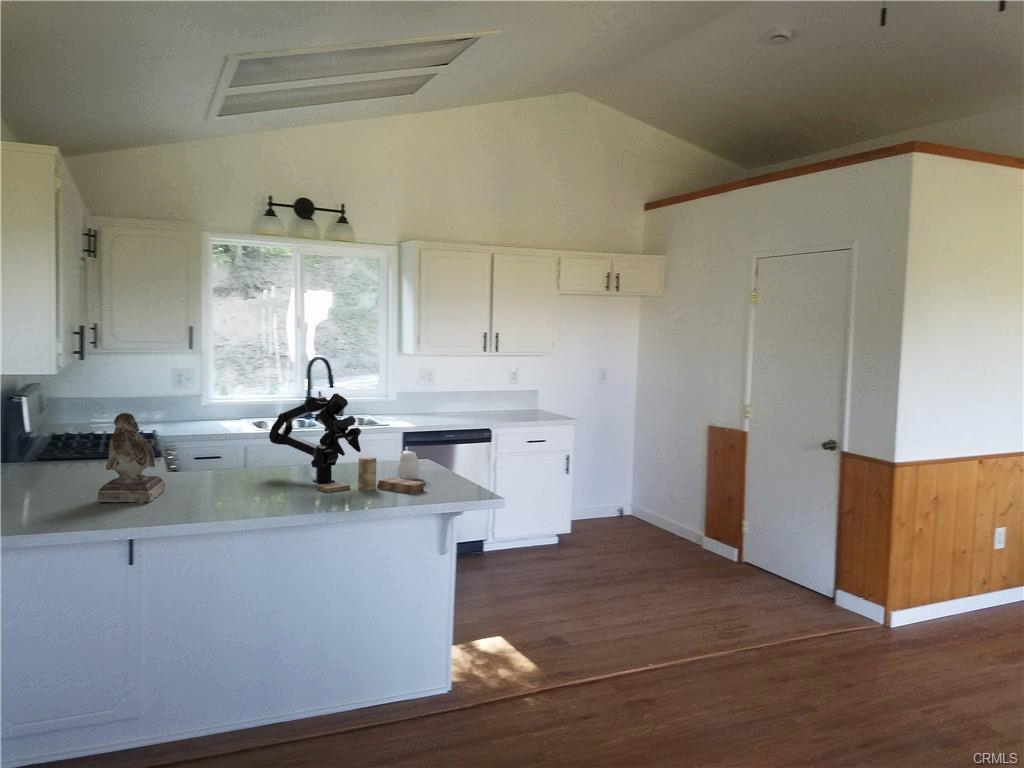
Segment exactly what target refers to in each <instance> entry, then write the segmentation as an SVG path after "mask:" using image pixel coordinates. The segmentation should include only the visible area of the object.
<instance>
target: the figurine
mask: <svg viewBox="0 0 1024 768" xmlns="http://www.w3.org/2000/svg"><path fill="white" fill-rule="evenodd" d="M421 466H422V462H420V461H419V460H418V456H417V453H416V451H412V450H411V451H410V450H403V451H402V450H401V451H400V456H399V459H398V463H397V465H396V476H397V477H398V479H405V480H411V481H415V480H416V479H418V478H419V477H420V476H421V474H422V470H421V469H420V467H421Z"/></svg>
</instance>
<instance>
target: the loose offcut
mask: <svg viewBox="0 0 1024 768" xmlns="http://www.w3.org/2000/svg"><path fill="white" fill-rule="evenodd" d="M316 488H318V489H321V490H323V491H322V492H324V491H326V492H328V493H330V492H329V491H334V492H338V491H337V490H341V491H346V490H345V489H347V490H350V489H351V484H348V483H345V482H341V481H336V482H328V483H321V484H317V485H316ZM318 489H317V490H318ZM321 490H320V491H321ZM326 492H325V493H326Z"/></svg>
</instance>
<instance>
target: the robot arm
mask: <svg viewBox="0 0 1024 768" xmlns="http://www.w3.org/2000/svg"><path fill="white" fill-rule="evenodd" d="M348 404H349V402H348V400H347V399H346V398H345V397H343V396H342V395H340V393H338V392H337V393H334V394H332V396H331V398H329V399H327V398H326V397H325V395H322V396H312V397H310V398H307V400H306V401H304V403H303V404H301V405H299V406H296V407H295V408H291V409H289V410H286V411H284V412H281V413H280V414H278V416H277V419H276V421H275V422H274V423H273V425H272V426H271V429H270V431H269V435H268V439H269V442H270V443H272V444H275V445H282V446H283V445H284V446H289V447H291V448H294V449H296V450H298V451H301V452H303V453H305V454H308V455H310V456H311V457H313V459H312V460H311V462H310V464H311V467H312V468H315V470H316V471H315V474H316V475H315V477H316V478H315V479H312V482H314V481H316V482H315V483H317V482H319V483H318V484H327V483H326V482H328V483H336V482H335V479H333V478H332V473H333V472H332V467H333V466H336V464H337V461H338V459H339V455H341V456H343V457H344V456H345V455H346V453H345V450H344V449H343V448H342V446H341V444H340V442H339V440H341V439H344V440H345V441H346V443H347V444H348V445H349V446H351V448H353V450H355V451H356V452H357V453H361V451H362V450H361V446H360V442H359V441H360V440H359V437H360V435H361V433H362V430H361V429H360V427H353V426H355V424H356V422H357V420H356V418H355V417H354V415H349V416H347V417H344V418H343V419H339V418H337V416H339V415H340V414H341V413H342V412H343V411H344V410H345V408H346V407H347V406H348ZM315 412H319V413H315ZM310 413H315V417H314V421H315V422H319V421H320V422H321V424H323V426H324V432H325V433H324V434H323V435H322V436H321V437H320V438H319V444H315V443H314V442H311V441H308V440H306V439H303V438H301V437H298V436H296V435H295V434H294V432H293V421H294V420H296V419H298V418H301V417H303V416H306V415H308V414H310ZM284 424H285V427H283V426H284ZM351 426H352V427H351ZM350 427H351V428H350ZM349 428H350V429H349Z"/></svg>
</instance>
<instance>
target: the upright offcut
mask: <svg viewBox="0 0 1024 768" xmlns="http://www.w3.org/2000/svg"><path fill="white" fill-rule="evenodd" d="M357 468H358V474H357V475H358V477H357V478H358V479H357V487H358V490H361V489H362V490H361V491H367V490H370V491H373V490H376V489H377V457H371V456H362V457H359V458H358V467H357ZM372 489H373V490H372Z"/></svg>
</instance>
